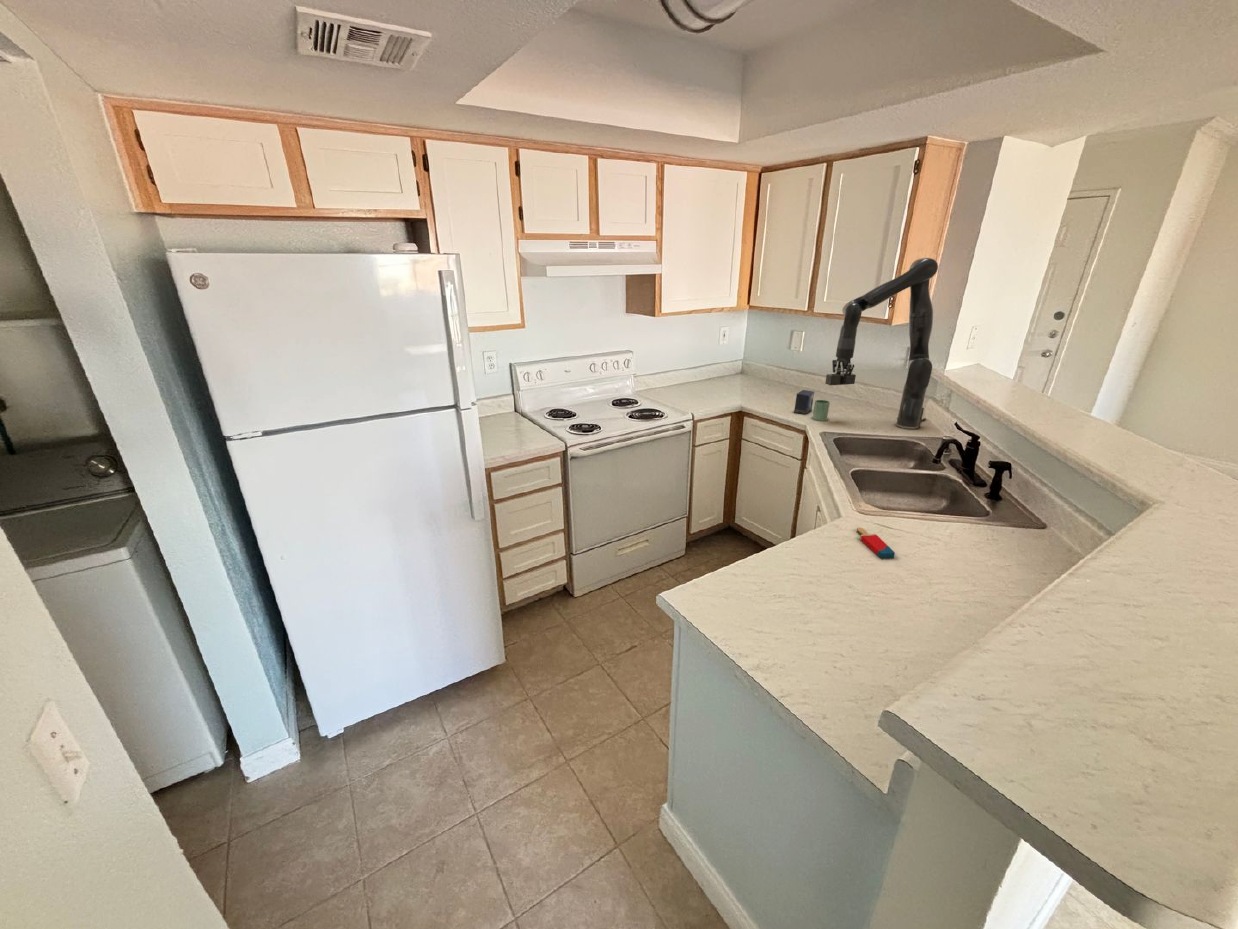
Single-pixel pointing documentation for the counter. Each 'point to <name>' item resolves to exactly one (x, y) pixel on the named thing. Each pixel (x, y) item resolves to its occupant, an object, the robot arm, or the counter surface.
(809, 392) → the small box
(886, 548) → the popsicle
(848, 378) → the bar
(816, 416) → the cup
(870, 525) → the counter surface
